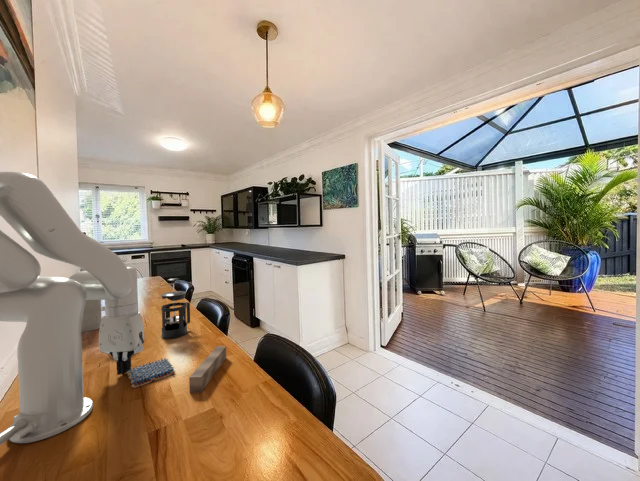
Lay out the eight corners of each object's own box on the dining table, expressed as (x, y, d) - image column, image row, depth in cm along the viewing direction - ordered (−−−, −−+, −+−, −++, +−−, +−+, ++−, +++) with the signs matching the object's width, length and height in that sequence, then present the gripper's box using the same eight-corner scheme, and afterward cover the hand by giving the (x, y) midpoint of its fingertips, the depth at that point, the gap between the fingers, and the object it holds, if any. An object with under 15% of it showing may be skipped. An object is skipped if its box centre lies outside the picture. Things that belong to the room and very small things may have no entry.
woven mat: (167, 362, 81) (167, 355, 81) (176, 375, 73) (176, 368, 73) (126, 375, 74) (126, 368, 74) (132, 391, 66) (131, 383, 66)
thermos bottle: (98, 323, 116) (96, 263, 115) (104, 327, 112) (102, 264, 111) (74, 329, 109) (72, 265, 109) (80, 333, 105) (78, 266, 104)
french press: (168, 341, 96) (167, 281, 95) (154, 337, 100) (152, 279, 100) (196, 331, 106) (195, 276, 106) (182, 327, 111) (180, 275, 110)
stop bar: (201, 392, 65) (201, 377, 65) (189, 392, 65) (189, 377, 65) (226, 358, 83) (226, 345, 83) (217, 358, 83) (216, 346, 83)
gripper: (83, 314, 69) (86, 380, 69) (139, 313, 69) (141, 378, 70) (106, 306, 76) (108, 366, 77) (156, 305, 77) (158, 364, 77)
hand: (124, 372), depth 73 cm, fingers closed
